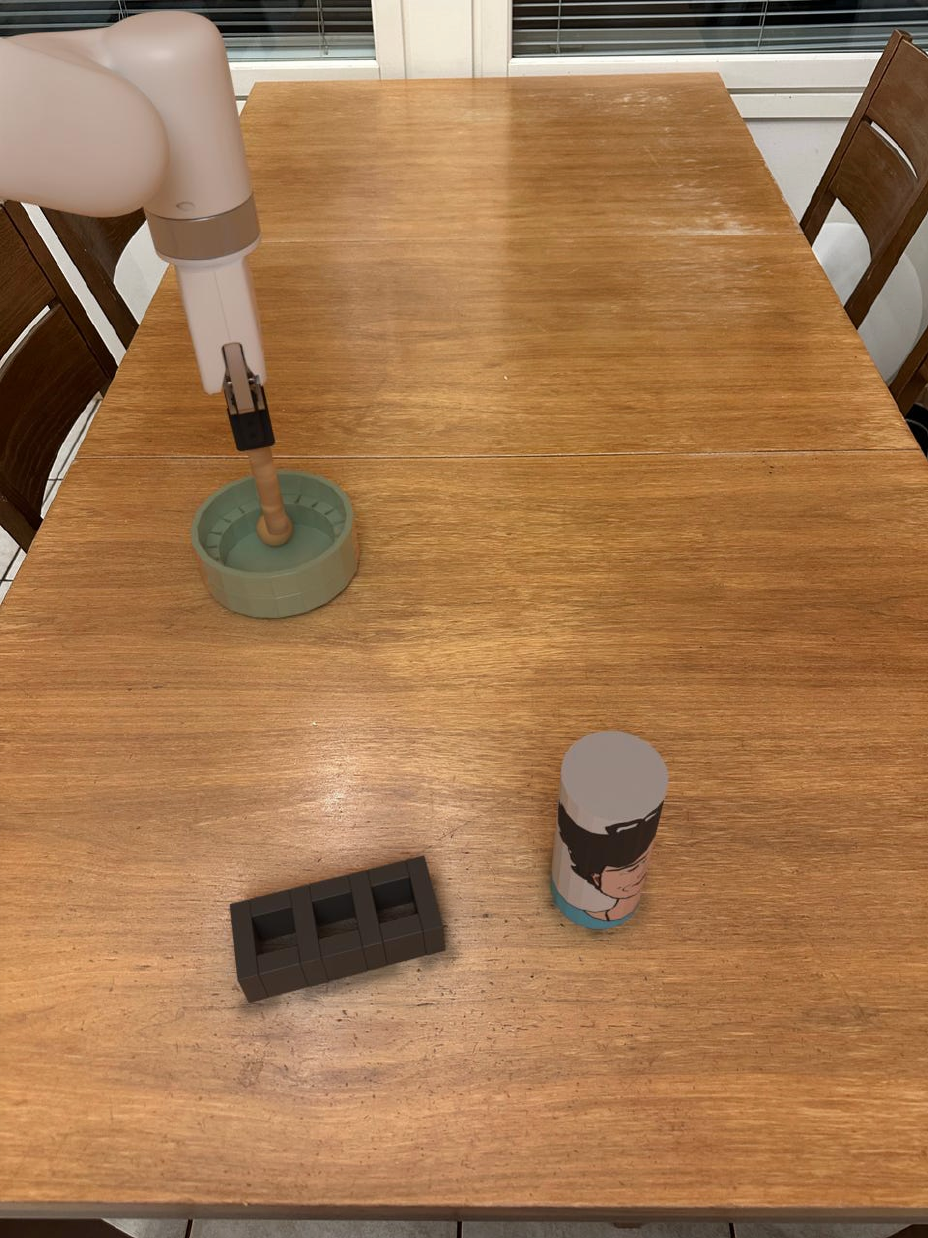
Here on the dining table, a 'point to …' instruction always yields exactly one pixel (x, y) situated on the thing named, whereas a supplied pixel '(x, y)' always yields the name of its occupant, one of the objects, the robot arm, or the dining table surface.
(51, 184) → the robot arm
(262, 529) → the dough ball
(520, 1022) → the dining table surface
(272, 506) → the stick
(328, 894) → the holder
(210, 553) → the bowl
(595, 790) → the printed cylindrical canister
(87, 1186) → the dining table surface
